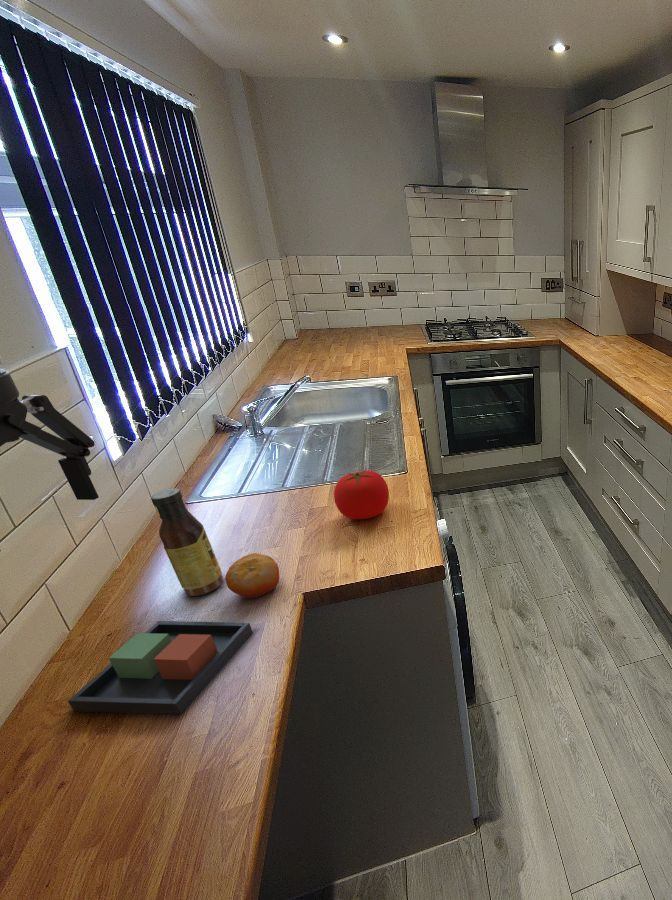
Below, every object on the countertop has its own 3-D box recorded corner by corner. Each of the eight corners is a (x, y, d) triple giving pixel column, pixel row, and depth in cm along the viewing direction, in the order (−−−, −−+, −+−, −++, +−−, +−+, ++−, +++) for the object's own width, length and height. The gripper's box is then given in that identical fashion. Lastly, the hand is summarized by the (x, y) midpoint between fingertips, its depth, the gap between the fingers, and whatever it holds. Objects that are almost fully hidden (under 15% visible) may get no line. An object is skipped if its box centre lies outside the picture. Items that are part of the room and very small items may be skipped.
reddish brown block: (162, 679, 78) (153, 659, 76) (188, 653, 82) (179, 633, 80) (195, 680, 77) (186, 660, 76) (219, 654, 82) (211, 634, 80)
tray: (73, 711, 73) (67, 701, 72) (162, 630, 88) (158, 620, 87) (181, 714, 73) (175, 704, 72) (253, 632, 87) (249, 622, 86)
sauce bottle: (231, 583, 98) (196, 490, 90) (193, 602, 94) (153, 506, 85) (214, 571, 102) (179, 481, 93) (177, 589, 97) (136, 496, 89)
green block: (119, 678, 78) (108, 658, 76) (146, 652, 82) (137, 632, 81) (151, 678, 78) (141, 658, 76) (177, 653, 82) (168, 633, 80)
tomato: (389, 497, 128) (381, 458, 123) (395, 521, 118) (386, 479, 113) (339, 507, 123) (329, 467, 119) (340, 533, 113) (329, 491, 109)
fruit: (271, 561, 102) (267, 540, 97) (287, 594, 99) (284, 574, 94) (222, 580, 97) (216, 559, 91) (238, 615, 94) (232, 596, 89)
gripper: (-147, 409, 52) (-36, 582, 61) (87, 349, 74) (143, 480, 83) (-218, 409, 52) (-97, 581, 61) (37, 349, 75) (98, 480, 84)
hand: (42, 523), depth 72 cm, fingers open, 13 cm apart
